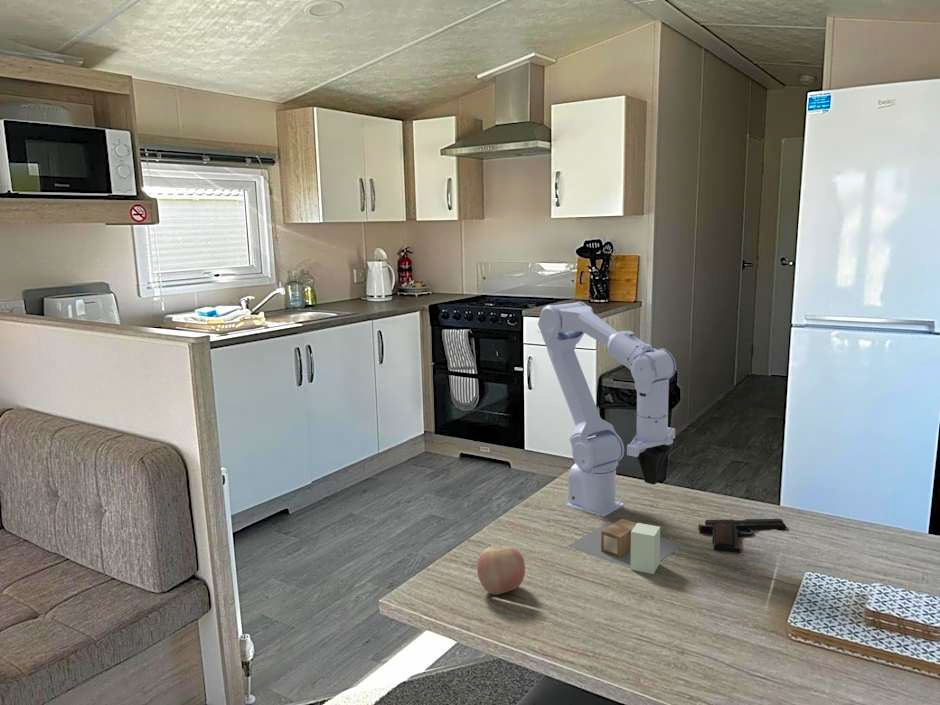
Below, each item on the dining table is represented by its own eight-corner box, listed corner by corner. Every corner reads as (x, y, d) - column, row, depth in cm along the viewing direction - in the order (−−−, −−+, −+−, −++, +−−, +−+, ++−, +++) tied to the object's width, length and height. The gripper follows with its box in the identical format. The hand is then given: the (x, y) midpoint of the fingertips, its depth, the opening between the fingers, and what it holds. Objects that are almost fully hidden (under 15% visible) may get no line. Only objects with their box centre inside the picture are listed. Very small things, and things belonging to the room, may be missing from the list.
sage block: (630, 569, 125) (630, 531, 123) (636, 559, 128) (637, 522, 127) (653, 574, 123) (654, 536, 121) (659, 564, 126) (660, 526, 125)
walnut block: (621, 538, 136) (601, 551, 131) (622, 518, 136) (601, 531, 131) (640, 544, 134) (620, 558, 129) (640, 524, 133) (620, 537, 128)
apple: (530, 584, 122) (529, 540, 120) (517, 607, 115) (516, 561, 113) (485, 577, 124) (484, 534, 123) (470, 600, 117) (469, 554, 116)
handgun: (811, 545, 130) (779, 515, 141) (718, 547, 129) (693, 516, 140) (809, 557, 130) (777, 526, 142) (717, 559, 129) (692, 527, 141)
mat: (567, 547, 134) (567, 545, 134) (609, 523, 144) (609, 521, 144) (644, 575, 123) (644, 572, 123) (683, 546, 133) (683, 544, 133)
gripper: (651, 427, 128) (650, 499, 130) (690, 409, 138) (688, 476, 141) (617, 420, 133) (616, 489, 135) (657, 403, 143) (655, 468, 145)
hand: (651, 482), depth 138 cm, fingers closed
